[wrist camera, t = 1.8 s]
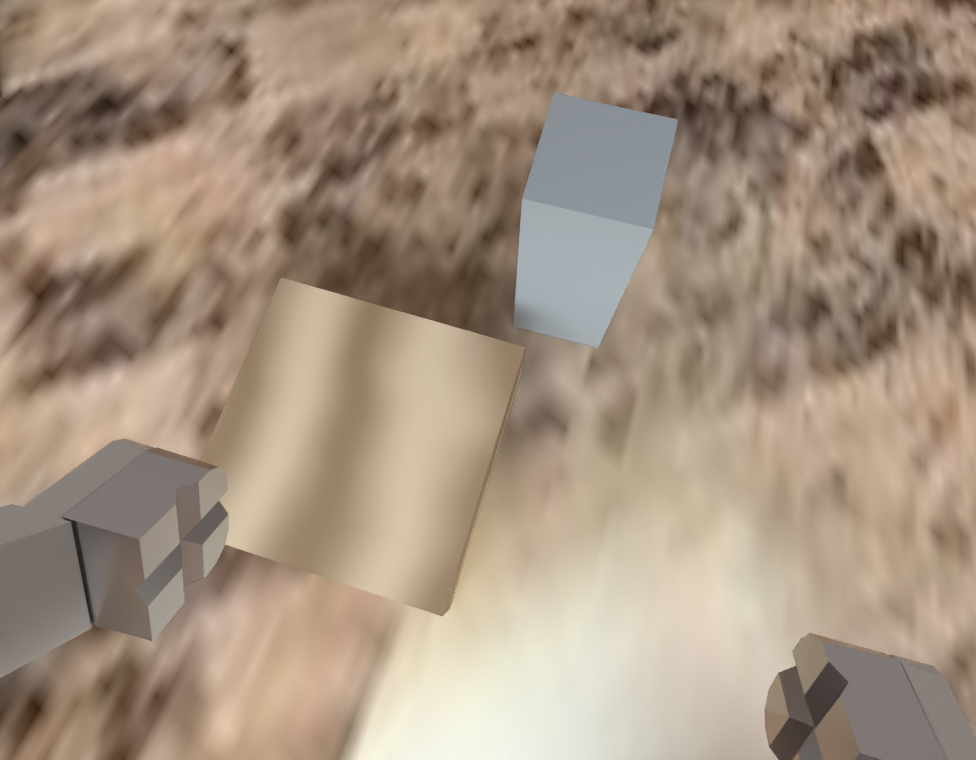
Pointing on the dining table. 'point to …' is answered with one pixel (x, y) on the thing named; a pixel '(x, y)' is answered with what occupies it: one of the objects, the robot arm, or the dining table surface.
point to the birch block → (363, 442)
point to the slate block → (587, 215)
